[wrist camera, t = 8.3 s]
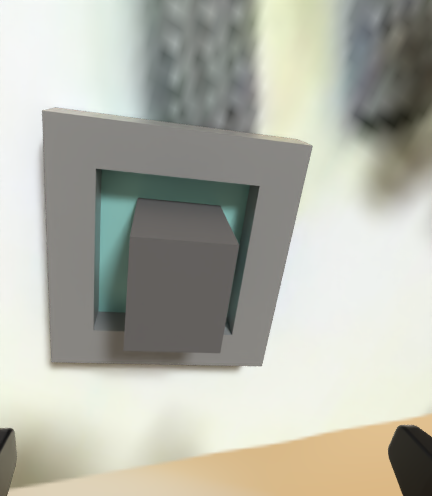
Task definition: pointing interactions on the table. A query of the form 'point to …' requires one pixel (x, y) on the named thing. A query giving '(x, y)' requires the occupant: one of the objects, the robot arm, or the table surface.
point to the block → (178, 277)
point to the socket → (162, 188)
